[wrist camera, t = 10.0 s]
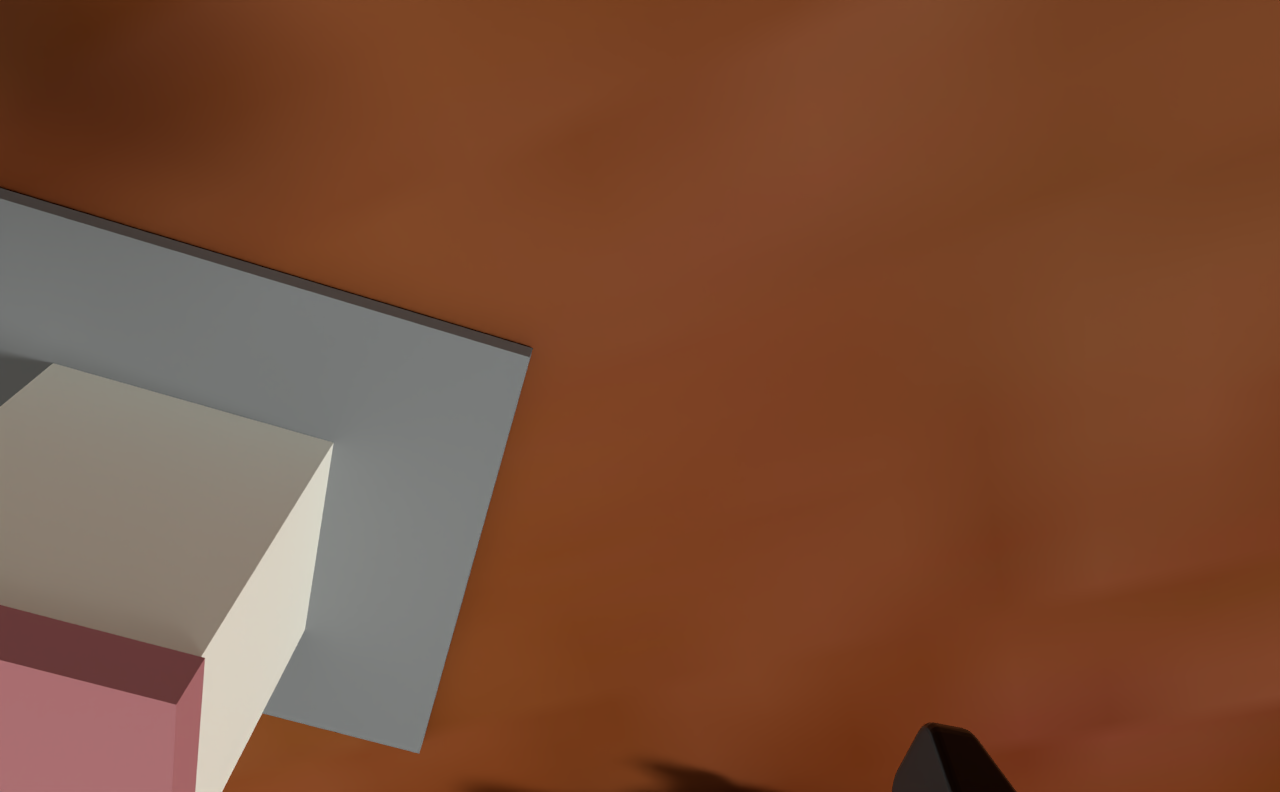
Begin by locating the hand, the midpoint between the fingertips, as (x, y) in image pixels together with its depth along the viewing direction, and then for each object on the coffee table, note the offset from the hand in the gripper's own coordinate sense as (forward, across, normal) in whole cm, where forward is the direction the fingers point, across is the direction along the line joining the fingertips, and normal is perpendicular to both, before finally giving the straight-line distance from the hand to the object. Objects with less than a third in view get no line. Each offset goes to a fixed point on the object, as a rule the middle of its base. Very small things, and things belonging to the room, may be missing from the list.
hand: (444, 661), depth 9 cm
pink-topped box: (+11, +8, +10) cm, 17 cm away
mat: (+12, +9, +10) cm, 17 cm away
